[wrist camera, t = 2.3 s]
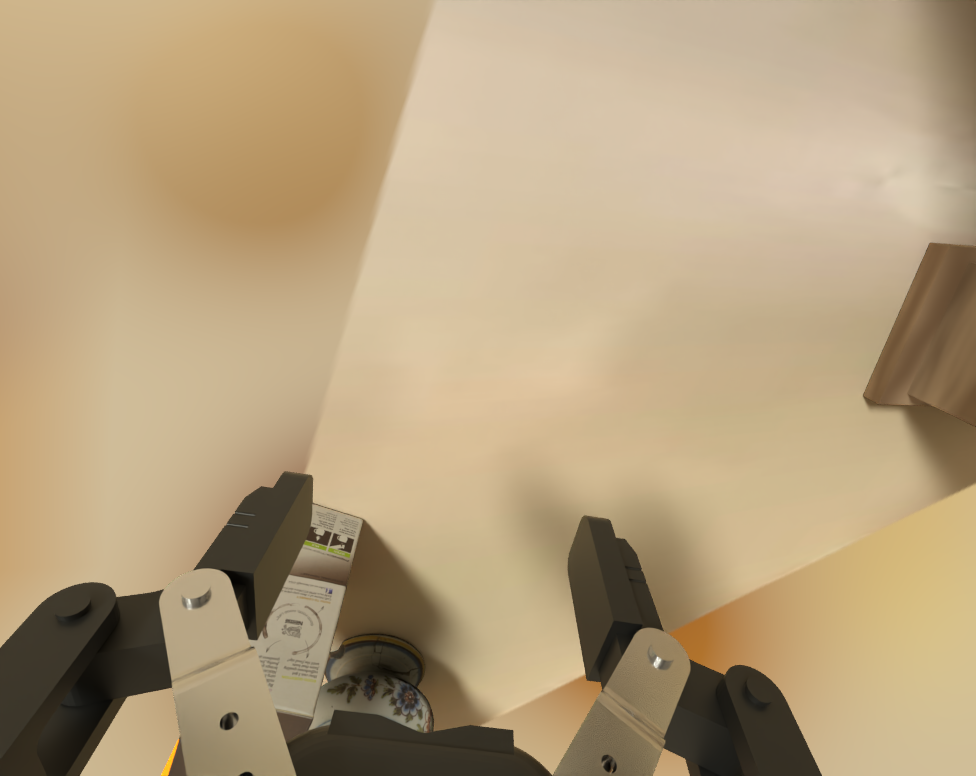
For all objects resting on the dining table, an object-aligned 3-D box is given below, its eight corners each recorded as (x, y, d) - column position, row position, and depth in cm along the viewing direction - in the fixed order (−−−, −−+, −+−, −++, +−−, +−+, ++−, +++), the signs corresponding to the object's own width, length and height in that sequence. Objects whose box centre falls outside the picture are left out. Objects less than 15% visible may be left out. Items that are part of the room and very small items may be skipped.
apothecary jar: (356, 607, 44) (303, 863, 28) (459, 655, 48) (465, 906, 32) (289, 679, 47) (206, 946, 31) (390, 719, 51) (363, 975, 35)
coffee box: (289, 494, 38) (191, 694, 24) (366, 518, 40) (318, 718, 25) (259, 574, 42) (157, 792, 27) (332, 592, 43) (272, 809, 28)
